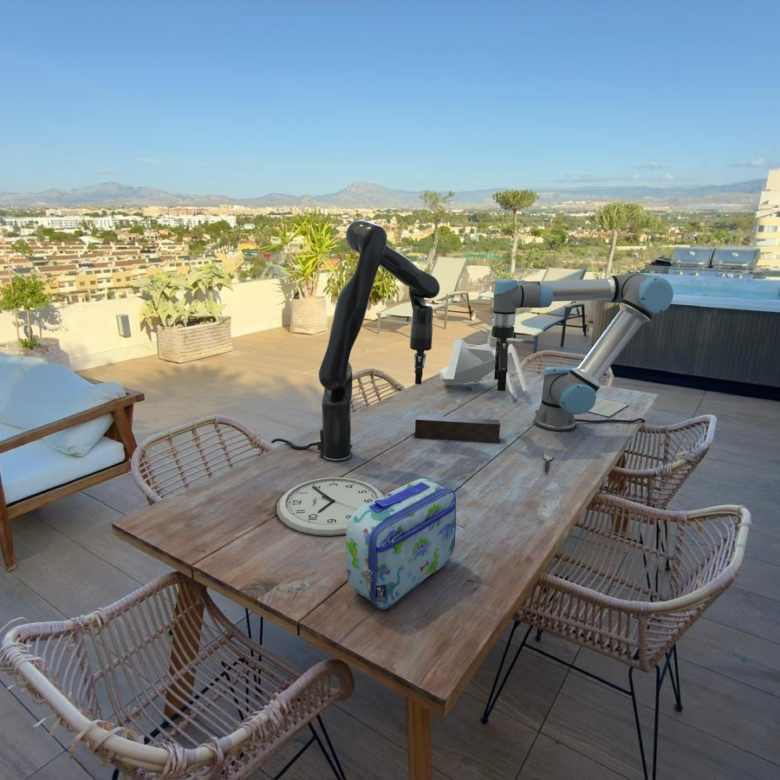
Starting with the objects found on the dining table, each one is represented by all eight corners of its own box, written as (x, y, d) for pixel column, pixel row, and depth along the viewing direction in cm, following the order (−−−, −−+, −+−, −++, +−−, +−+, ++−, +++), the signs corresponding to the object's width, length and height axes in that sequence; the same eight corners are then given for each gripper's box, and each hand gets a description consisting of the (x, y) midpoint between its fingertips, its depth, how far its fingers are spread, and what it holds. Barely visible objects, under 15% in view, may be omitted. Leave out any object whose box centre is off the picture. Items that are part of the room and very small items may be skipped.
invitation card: (608, 416, 214) (573, 407, 224) (608, 416, 214) (573, 408, 224) (628, 404, 229) (594, 396, 238) (628, 405, 229) (594, 397, 238)
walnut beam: (497, 437, 191) (499, 420, 189) (498, 442, 186) (500, 424, 184) (415, 433, 194) (416, 415, 192) (414, 437, 190) (415, 419, 188)
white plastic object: (461, 429, 252) (437, 405, 227) (444, 352, 274) (420, 323, 250) (535, 404, 240) (518, 377, 215) (510, 326, 262) (492, 293, 237)
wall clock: (392, 527, 129) (268, 531, 127) (391, 533, 130) (269, 537, 127) (383, 473, 158) (282, 475, 155) (383, 478, 158) (282, 480, 156)
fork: (540, 473, 163) (541, 467, 163) (544, 453, 178) (545, 448, 177) (549, 474, 162) (550, 468, 162) (552, 454, 177) (553, 449, 176)
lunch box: (375, 622, 100) (376, 527, 94) (339, 595, 108) (338, 505, 101) (459, 565, 118) (465, 481, 112) (424, 545, 125) (427, 465, 119)
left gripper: (411, 330, 187) (409, 374, 192) (409, 339, 173) (406, 385, 178) (432, 332, 186) (429, 375, 191) (431, 340, 173) (428, 387, 178)
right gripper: (489, 319, 191) (486, 375, 197) (494, 332, 167) (491, 395, 174) (510, 319, 190) (506, 375, 196) (518, 332, 166) (514, 396, 173)
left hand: (418, 380), depth 185 cm, fingers open, 8 cm apart
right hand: (499, 384), depth 185 cm, fingers open, 13 cm apart
